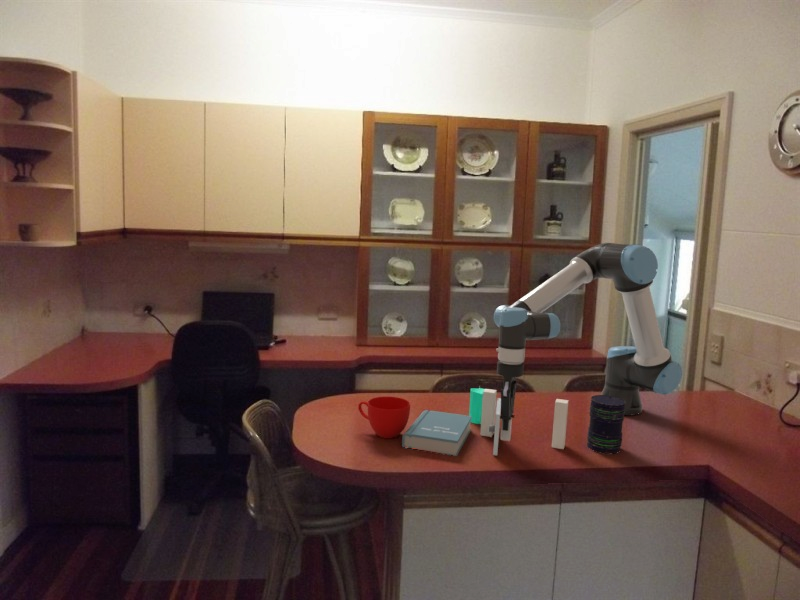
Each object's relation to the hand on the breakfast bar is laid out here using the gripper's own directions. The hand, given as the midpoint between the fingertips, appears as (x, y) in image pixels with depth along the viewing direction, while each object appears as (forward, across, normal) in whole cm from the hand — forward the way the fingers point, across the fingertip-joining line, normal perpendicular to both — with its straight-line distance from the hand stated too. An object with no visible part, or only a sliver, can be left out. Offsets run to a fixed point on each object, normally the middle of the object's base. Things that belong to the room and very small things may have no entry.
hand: (505, 439), depth 176 cm
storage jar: (+3, -14, +27) cm, 31 cm away
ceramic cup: (+3, +5, -37) cm, 37 cm away
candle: (+3, -20, -13) cm, 24 cm away
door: (+2, 0, -3) cm, 4 cm away
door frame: (+3, -9, +4) cm, 10 cm away
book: (+3, +2, -20) cm, 20 cm away
